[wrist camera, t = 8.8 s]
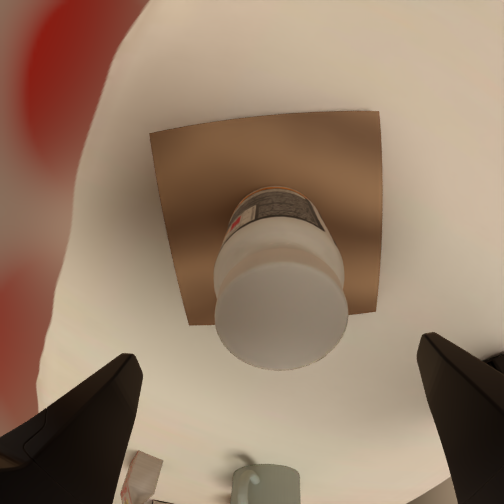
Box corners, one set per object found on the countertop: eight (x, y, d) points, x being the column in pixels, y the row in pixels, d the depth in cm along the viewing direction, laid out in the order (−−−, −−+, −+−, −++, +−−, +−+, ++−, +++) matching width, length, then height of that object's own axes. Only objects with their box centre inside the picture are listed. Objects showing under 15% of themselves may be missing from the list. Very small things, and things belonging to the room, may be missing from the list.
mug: (305, 484, 36) (307, 540, 27) (246, 490, 38) (241, 543, 28) (282, 444, 31) (282, 518, 22) (209, 451, 33) (198, 519, 23)
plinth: (371, 303, 23) (375, 311, 22) (192, 316, 24) (189, 325, 23) (372, 111, 17) (379, 111, 16) (155, 132, 19) (149, 133, 17)
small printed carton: (163, 460, 35) (147, 518, 26) (152, 472, 37) (137, 524, 28) (138, 450, 34) (119, 508, 25) (130, 464, 37) (113, 514, 28)
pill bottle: (213, 235, 20) (168, 330, 11) (269, 164, 18) (267, 207, 9) (282, 285, 21) (287, 399, 12) (340, 222, 19) (393, 310, 10)
